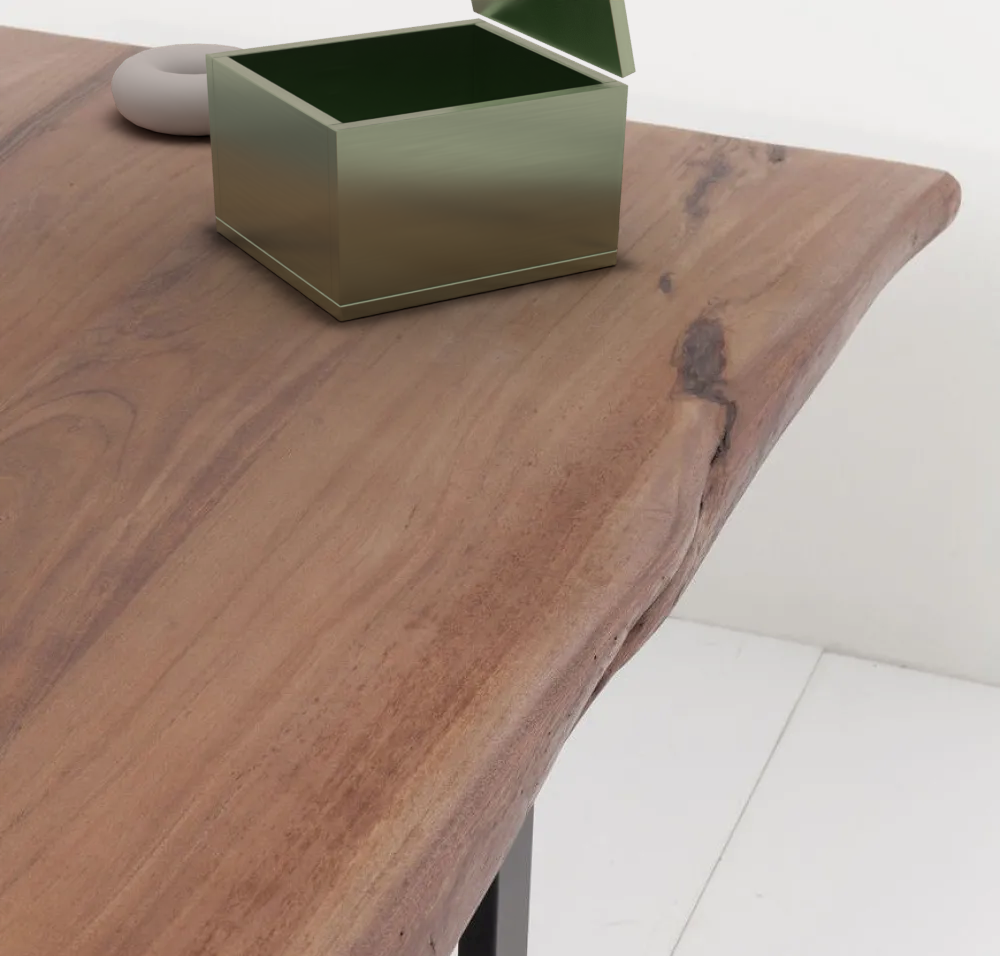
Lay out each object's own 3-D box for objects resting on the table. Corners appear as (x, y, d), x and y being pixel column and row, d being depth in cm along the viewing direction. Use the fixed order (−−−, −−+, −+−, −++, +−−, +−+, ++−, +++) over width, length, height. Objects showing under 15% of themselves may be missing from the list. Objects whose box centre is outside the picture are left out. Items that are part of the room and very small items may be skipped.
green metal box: (340, 322, 87) (335, 130, 82) (215, 231, 97) (204, 53, 91) (617, 265, 94) (628, 85, 89) (475, 185, 103) (479, 18, 98)
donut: (95, 105, 114) (139, 150, 107) (89, 45, 112) (133, 87, 105) (253, 89, 117) (306, 132, 110) (250, 31, 116) (304, 71, 108)
